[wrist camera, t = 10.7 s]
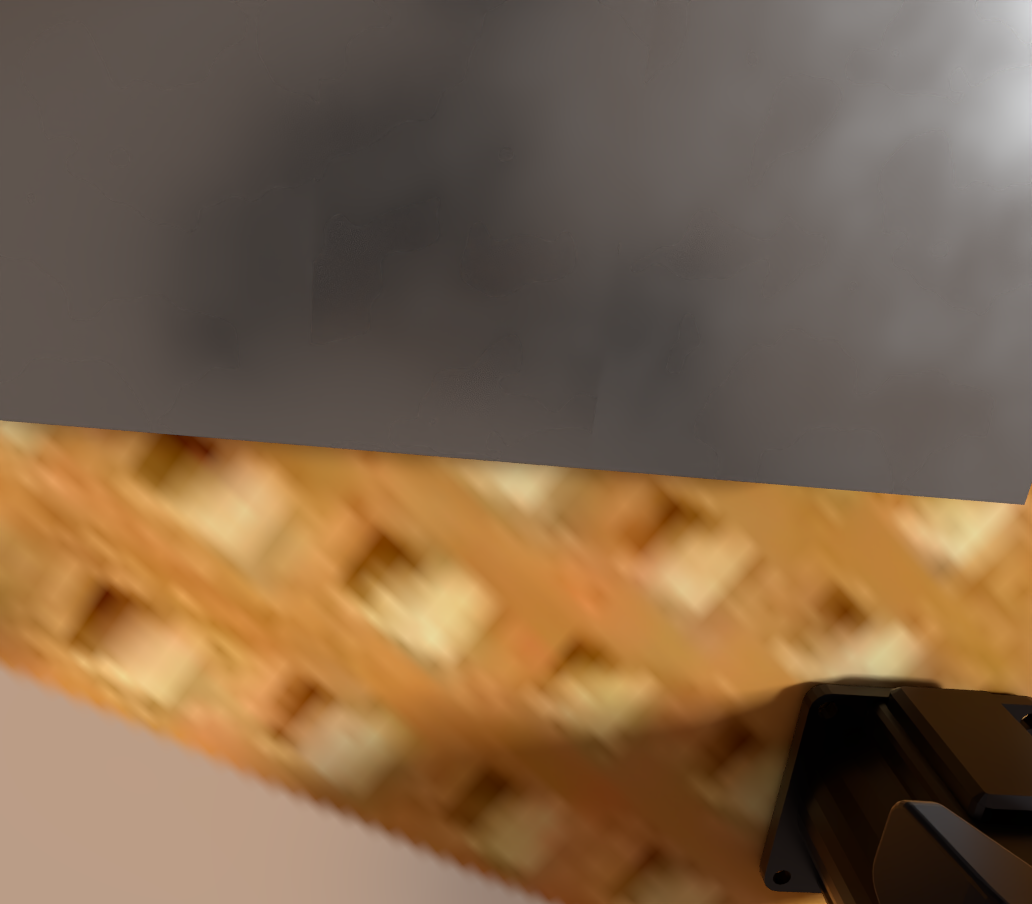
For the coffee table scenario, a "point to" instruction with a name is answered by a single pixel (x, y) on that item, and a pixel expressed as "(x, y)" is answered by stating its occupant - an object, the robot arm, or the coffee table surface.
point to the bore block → (531, 232)
